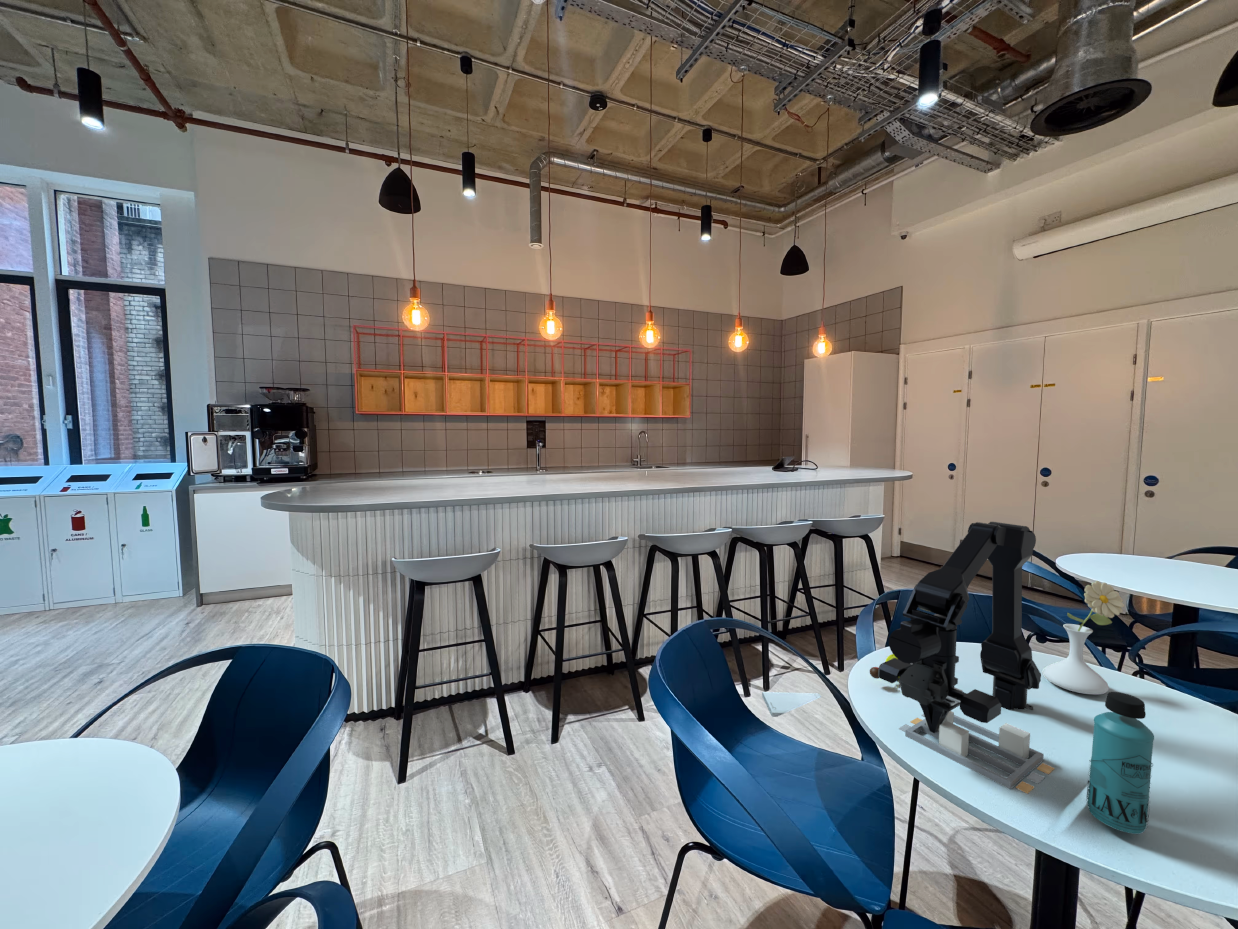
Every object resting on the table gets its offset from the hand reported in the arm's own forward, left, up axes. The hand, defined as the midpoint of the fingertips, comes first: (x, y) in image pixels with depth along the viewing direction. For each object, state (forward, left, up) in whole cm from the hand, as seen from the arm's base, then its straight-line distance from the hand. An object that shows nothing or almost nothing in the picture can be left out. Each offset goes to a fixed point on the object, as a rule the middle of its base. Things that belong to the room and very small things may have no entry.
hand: (933, 732), depth 92 cm
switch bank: (-4, +5, -3) cm, 7 cm away
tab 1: (-4, -1, -2) cm, 5 cm away
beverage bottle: (-3, +24, -3) cm, 24 cm away
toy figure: (-18, -16, -3) cm, 25 cm away
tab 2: (0, +3, -2) cm, 4 cm away
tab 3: (-8, +9, -2) cm, 13 cm away
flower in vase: (-51, +7, -3) cm, 52 cm away
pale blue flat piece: (+10, -23, -4) cm, 25 cm away
